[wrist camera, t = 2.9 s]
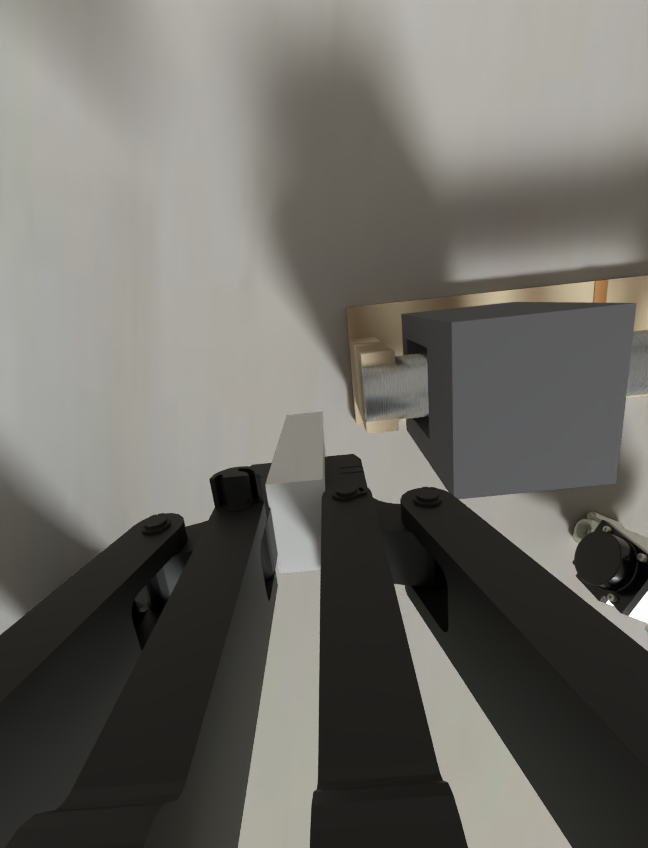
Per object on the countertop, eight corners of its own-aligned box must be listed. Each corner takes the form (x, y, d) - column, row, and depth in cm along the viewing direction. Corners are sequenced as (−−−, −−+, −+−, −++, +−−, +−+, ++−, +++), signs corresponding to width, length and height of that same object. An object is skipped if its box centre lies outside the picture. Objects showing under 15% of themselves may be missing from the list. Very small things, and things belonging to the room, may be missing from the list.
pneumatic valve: (557, 488, 39) (655, 566, 28) (657, 530, 41) (790, 621, 29) (527, 535, 41) (608, 628, 29) (624, 574, 42) (739, 676, 31)
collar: (406, 429, 31) (453, 499, 20) (401, 313, 29) (451, 322, 18) (511, 419, 31) (616, 483, 20) (515, 301, 29) (636, 302, 18)
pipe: (361, 413, 29) (368, 430, 25) (357, 355, 27) (363, 365, 24) (784, 370, 28) (857, 381, 24) (797, 309, 27) (877, 311, 23)
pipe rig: (355, 421, 37) (369, 469, 27) (345, 307, 34) (357, 310, 24) (679, 388, 37) (825, 424, 26) (697, 269, 34) (869, 256, 23)
